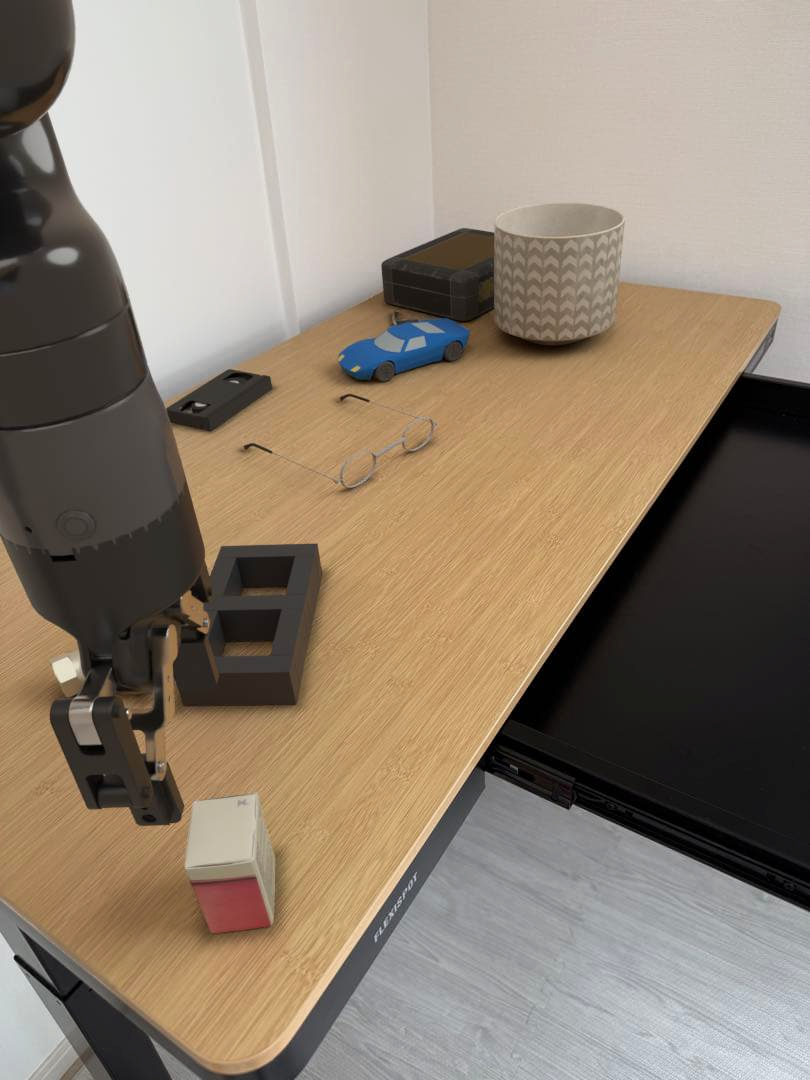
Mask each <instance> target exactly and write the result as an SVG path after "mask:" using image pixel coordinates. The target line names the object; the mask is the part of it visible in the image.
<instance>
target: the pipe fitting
mask: <svg viewBox="0 0 810 1080" xmlns="http://www.w3.org/2000/svg"><path fill="white" fill-rule="evenodd" d="M48 662H49V664H50V666H51V669H52V671H53V673H54V676H55V677H56V679H57V682H58V684H59V686H60V688H61V690H62V693H63V695H64V698H72V697H73V696H76V695H77V694H78V692H79V690H80V688H81V686H82V684H83V682H84V680H85V677H84V675H83V673H82V669H81V663H80V654H79V649H78V648H77V649H76V650H73V651H71V652H69V653H68V652H63V653H60V654H58V655H56V656H54V657H51V658H49V661H48Z"/></svg>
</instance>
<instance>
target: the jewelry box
mask: <svg viewBox="0 0 810 1080" xmlns="http://www.w3.org/2000/svg"><path fill="white" fill-rule="evenodd" d="M380 267H381V279H382V280H381V281H382V292H383V293H382V294H383V300H384V302H385V303H386V304H390V305H393V306H396V307H400V308H406V309H409V310H414V311H418V312H422V313H426V314H430V315H434V316H439V317H442V318H447V319H450V320H455V321H459V322H468V321H471V320H473V319H476V318H477V317H479V316H480V315H482V314H484V313H486V312H489V311H490V310H492V309H494V231H487V230H481V229H475V228H468V227H462V228H459V229H456V230H454V231H451V232H448V233H446V234H443V235H441V236H439V237H437V238H434V239H432V240H429V241H427V242H425V243H422V244H420V245H418V246H415V247H412V248H410V249H408V250H405V251H403V252H400V253H398V254H396V255H393V256H391V257H389V258H387V259H385V260H383V261H382V262H381V266H380Z"/></svg>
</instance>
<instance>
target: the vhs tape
mask: <svg viewBox="0 0 810 1080" xmlns="http://www.w3.org/2000/svg"><path fill="white" fill-rule="evenodd" d="M271 378H272V377H271V376H269V375H266V374H263V375H262V374H259V373H254V372H248V371H241V370H237V369H231V368H230V369H229V368H228V369H226V370H225V371H223V372H221V373H220V374H218V375H217V376H215V377H214V378H212V379H210V380H209V381H207V382H205V383H204V384H202V385H200V386H199V387H197V388H196V389H195V390H193V391H192V392H190V393H188V394H187V395H185V396H183V397H182V398H180V399H179V400H177V401H175V402H174V403H172V404H171V405H169V406H167V407H165V408H166V411H167V413H168V416H169V420H170V423H173V424H178V425H183V426H187V427H190V428H196V429H200V430H205V431H208V432H212V431H215V429H217V428H218V427H220V426H221V425H222V424H224V423H225V422H227V421H228V420H230V419H231V418H232V417H234V416H235V415H236V414H238V413H240V412H241V411H242V410H243V409H245V408H246V407H248V406H249V405H251V404H253V403H254V402H255V401H256V400H258V399H259V398H261V397H262V396H264V395H265V394H267V393H268V392H270V391H271V390H273V383H272V379H271Z"/></svg>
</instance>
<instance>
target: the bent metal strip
mask: <svg viewBox="0 0 810 1080" xmlns="http://www.w3.org/2000/svg"><path fill="white" fill-rule="evenodd" d="M392 311H393V314H392V315H391V317H392V319H391V321H392V324H393V326H396V325H400V324H405V323H410V322H417V321H420V320H419V318H407V319H406V318H405V319H398V318H397V316H396V315H398V314H400V311H399V310H395V309H393V310H392Z"/></svg>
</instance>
